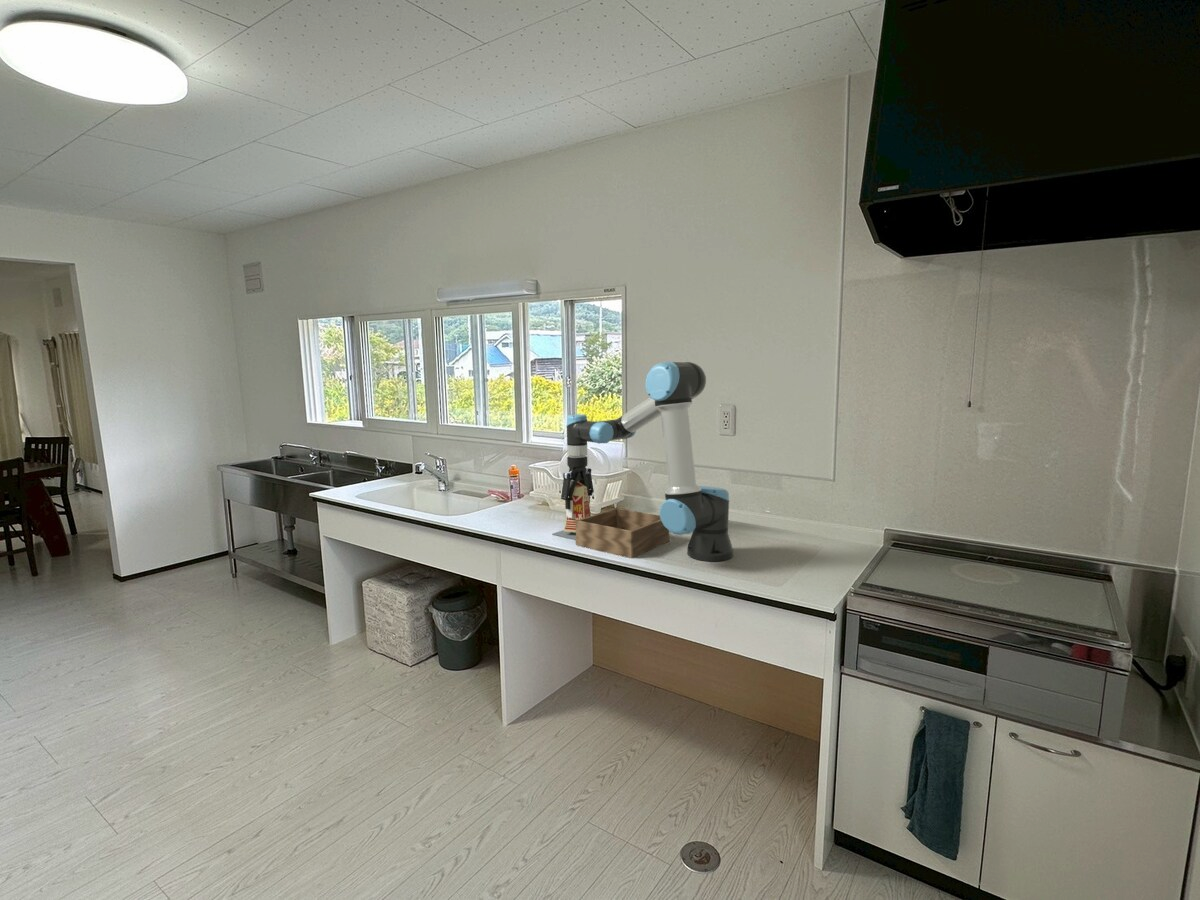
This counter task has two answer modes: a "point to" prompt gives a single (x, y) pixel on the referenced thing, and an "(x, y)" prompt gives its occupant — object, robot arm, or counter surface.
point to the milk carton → (578, 507)
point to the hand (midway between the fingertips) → (578, 514)
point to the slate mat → (566, 534)
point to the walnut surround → (621, 532)
